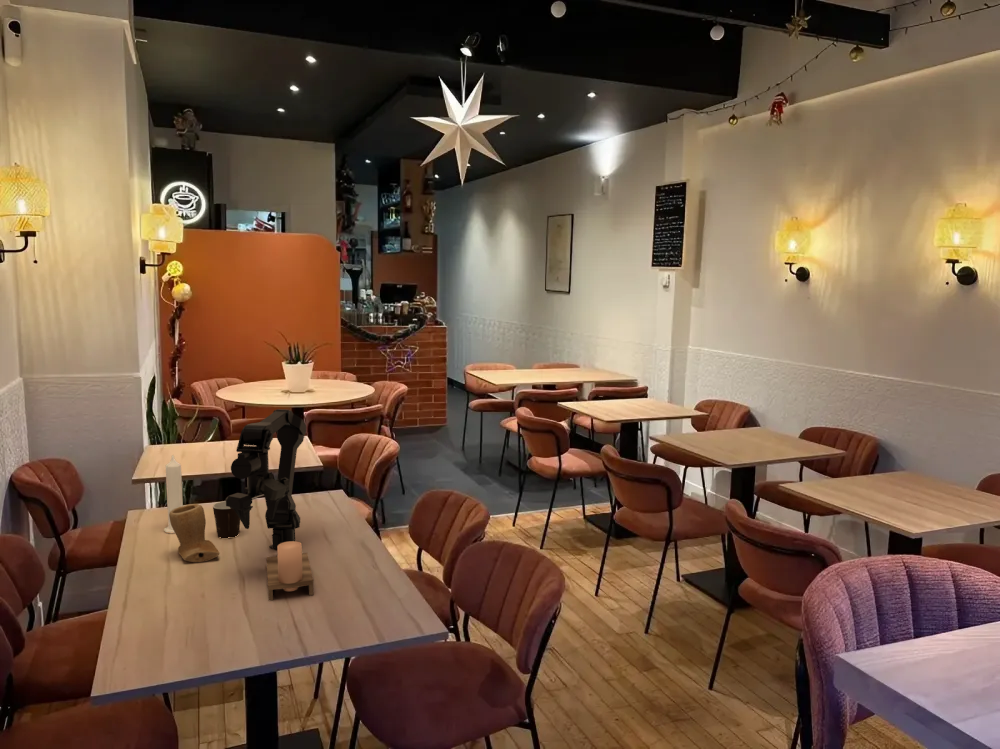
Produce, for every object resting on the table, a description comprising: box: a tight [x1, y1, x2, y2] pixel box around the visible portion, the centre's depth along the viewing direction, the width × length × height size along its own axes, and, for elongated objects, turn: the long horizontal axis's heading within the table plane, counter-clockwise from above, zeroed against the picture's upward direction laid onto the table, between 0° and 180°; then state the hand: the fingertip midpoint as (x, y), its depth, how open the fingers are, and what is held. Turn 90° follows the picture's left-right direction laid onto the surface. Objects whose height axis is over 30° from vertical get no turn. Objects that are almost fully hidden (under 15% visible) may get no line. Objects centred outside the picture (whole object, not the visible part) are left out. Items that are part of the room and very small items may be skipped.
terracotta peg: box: [276, 540, 303, 592], centre depth 184 cm, size 6×6×12 cm
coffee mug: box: [212, 500, 241, 539], centre depth 225 cm, size 12×9×10 cm
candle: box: [163, 454, 184, 533], centre depth 229 cm, size 7×7×25 cm
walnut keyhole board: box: [266, 552, 314, 601], centre depth 191 cm, size 20×11×4 cm, turn 19°
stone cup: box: [169, 503, 220, 563], centre depth 209 cm, size 15×12×15 cm
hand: (259, 523), depth 199 cm, fingers open, 9 cm apart
